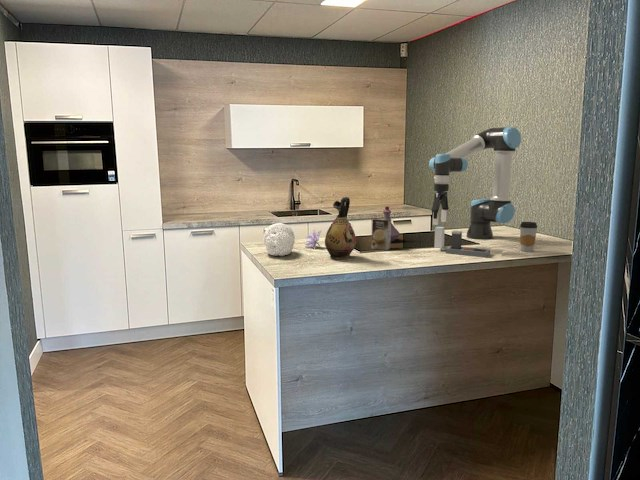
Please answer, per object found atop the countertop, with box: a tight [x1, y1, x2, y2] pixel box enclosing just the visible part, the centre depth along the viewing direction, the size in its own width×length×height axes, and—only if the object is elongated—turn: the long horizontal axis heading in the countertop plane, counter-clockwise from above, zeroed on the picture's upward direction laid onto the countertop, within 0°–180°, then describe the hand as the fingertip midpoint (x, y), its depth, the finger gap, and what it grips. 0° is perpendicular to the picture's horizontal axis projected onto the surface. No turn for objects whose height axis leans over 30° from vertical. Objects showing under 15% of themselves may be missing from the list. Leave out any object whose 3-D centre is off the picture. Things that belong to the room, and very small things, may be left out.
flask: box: [382, 206, 401, 243], centre depth 295 cm, size 16×16×20 cm
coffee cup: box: [519, 221, 538, 253], centre depth 264 cm, size 8×8×15 cm
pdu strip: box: [439, 245, 491, 259], centre depth 257 cm, size 9×24×4 cm, turn 59°
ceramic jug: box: [324, 196, 357, 260], centre depth 250 cm, size 17×15×30 cm
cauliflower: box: [262, 222, 296, 257], centre depth 259 cm, size 20×18×16 cm
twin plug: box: [450, 230, 463, 249], centre depth 258 cm, size 4×4×11 cm
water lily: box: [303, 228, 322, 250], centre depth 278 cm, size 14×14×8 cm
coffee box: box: [371, 217, 392, 251], centre depth 272 cm, size 9×6×16 cm
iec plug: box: [434, 226, 446, 249], centre depth 272 cm, size 4×4×11 cm
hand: (439, 223), depth 271 cm, fingers open, 13 cm apart
